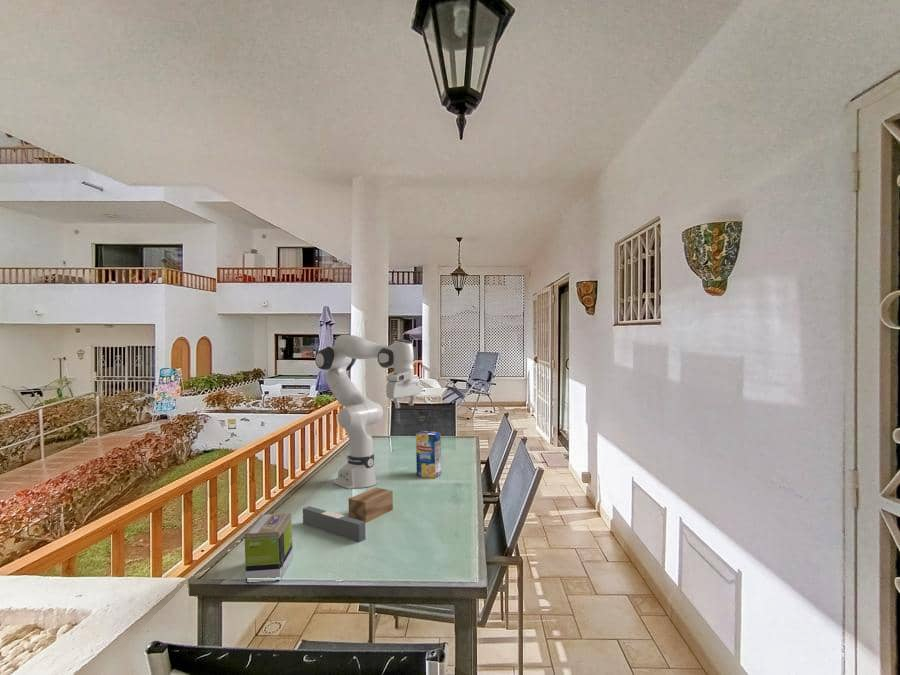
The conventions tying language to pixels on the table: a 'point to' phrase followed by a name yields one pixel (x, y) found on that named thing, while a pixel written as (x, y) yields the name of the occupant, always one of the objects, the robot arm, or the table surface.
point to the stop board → (334, 523)
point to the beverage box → (428, 454)
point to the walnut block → (370, 504)
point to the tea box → (268, 546)
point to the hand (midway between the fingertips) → (404, 406)
